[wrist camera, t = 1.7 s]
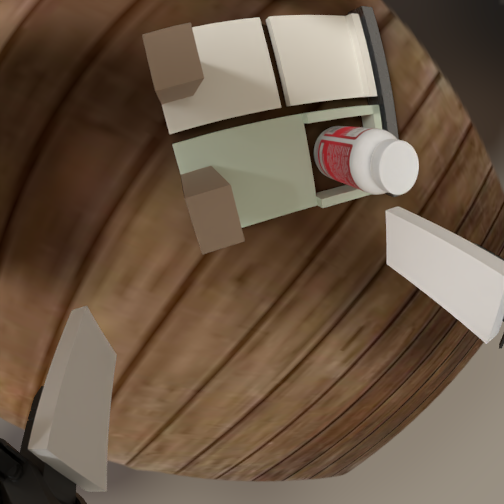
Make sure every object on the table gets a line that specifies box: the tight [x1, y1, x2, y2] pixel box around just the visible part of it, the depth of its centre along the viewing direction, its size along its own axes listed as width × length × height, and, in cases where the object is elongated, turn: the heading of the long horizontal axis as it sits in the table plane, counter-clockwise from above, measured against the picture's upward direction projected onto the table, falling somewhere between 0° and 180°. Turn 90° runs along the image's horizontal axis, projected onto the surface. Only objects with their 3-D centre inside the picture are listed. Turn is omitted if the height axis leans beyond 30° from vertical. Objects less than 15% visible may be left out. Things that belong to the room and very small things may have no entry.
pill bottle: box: [314, 126, 419, 195], centre depth 27 cm, size 6×6×11 cm
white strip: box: [266, 13, 377, 107], centre depth 25 cm, size 10×10×2 cm
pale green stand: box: [172, 105, 382, 255], centre depth 26 cm, size 22×10×11 cm, turn 103°
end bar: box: [348, 6, 403, 197], centre depth 29 cm, size 2×23×3 cm, turn 13°
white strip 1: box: [142, 17, 282, 135], centre depth 20 cm, size 11×10×11 cm
